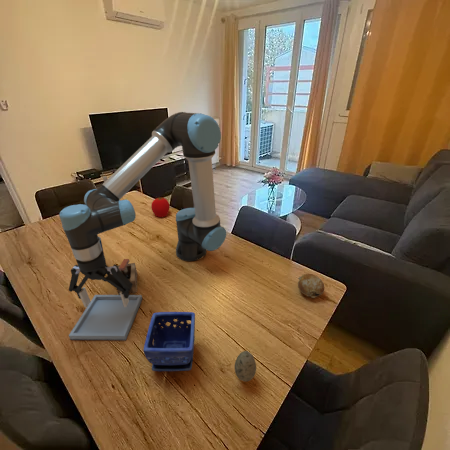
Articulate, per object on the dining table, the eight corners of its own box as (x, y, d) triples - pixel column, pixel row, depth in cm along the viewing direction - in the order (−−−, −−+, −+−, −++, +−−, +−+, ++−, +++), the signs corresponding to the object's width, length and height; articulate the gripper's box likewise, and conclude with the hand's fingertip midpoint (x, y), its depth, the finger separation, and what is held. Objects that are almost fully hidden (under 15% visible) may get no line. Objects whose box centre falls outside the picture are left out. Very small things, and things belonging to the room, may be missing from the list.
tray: (142, 299, 96) (141, 295, 95) (125, 340, 80) (124, 335, 79) (96, 299, 96) (95, 294, 95) (70, 340, 80) (68, 335, 79)
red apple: (158, 222, 152) (155, 203, 146) (150, 216, 159) (147, 197, 153) (174, 216, 159) (172, 198, 153) (165, 211, 166) (163, 193, 160)
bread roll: (300, 302, 98) (309, 296, 91) (291, 278, 103) (298, 271, 97) (322, 298, 100) (332, 291, 94) (312, 274, 106) (320, 267, 99)
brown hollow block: (137, 292, 99) (134, 280, 96) (118, 295, 97) (115, 284, 94) (137, 273, 109) (134, 262, 106) (120, 276, 107) (117, 265, 104)
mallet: (134, 276, 107) (130, 258, 103) (129, 286, 102) (124, 268, 97) (127, 276, 107) (123, 258, 103) (122, 286, 102) (117, 267, 97)
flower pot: (198, 335, 81) (196, 310, 76) (195, 376, 70) (192, 350, 64) (157, 337, 81) (152, 311, 75) (148, 378, 69) (141, 351, 64)
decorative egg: (254, 365, 72) (256, 343, 68) (255, 387, 67) (258, 365, 62) (234, 365, 73) (234, 343, 68) (234, 386, 67) (234, 364, 63)
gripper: (134, 246, 78) (146, 295, 88) (56, 247, 78) (77, 296, 89) (125, 261, 71) (139, 312, 82) (40, 262, 72) (65, 313, 82)
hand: (107, 304), depth 85 cm, fingers open, 13 cm apart
